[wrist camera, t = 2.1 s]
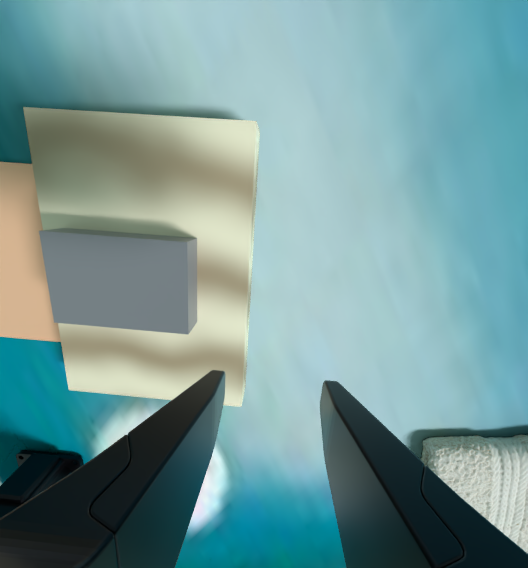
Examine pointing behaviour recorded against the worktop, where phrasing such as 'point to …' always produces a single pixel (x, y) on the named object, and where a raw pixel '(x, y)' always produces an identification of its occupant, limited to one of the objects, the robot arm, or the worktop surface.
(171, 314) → the grey rectangular block
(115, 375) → the cream wavy flat block
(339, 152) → the worktop surface
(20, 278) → the mat
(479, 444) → the washcloth
